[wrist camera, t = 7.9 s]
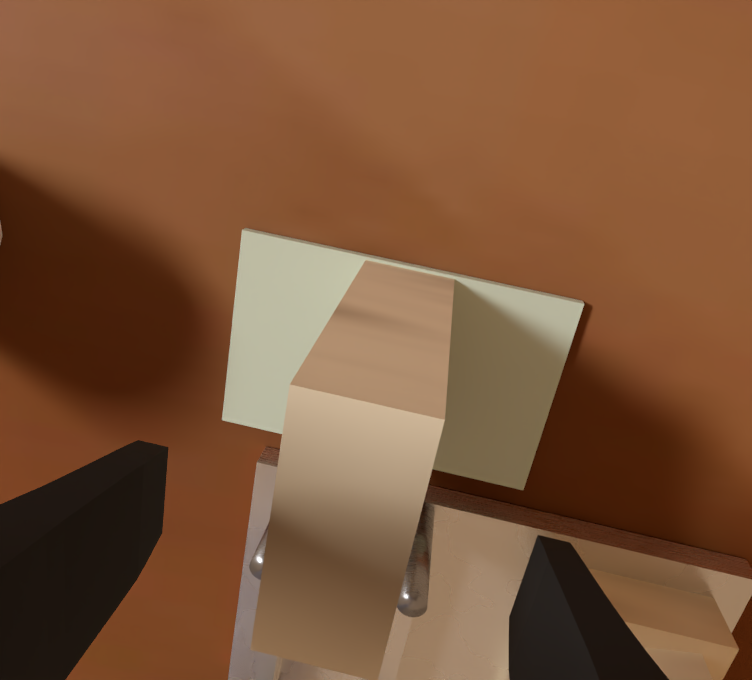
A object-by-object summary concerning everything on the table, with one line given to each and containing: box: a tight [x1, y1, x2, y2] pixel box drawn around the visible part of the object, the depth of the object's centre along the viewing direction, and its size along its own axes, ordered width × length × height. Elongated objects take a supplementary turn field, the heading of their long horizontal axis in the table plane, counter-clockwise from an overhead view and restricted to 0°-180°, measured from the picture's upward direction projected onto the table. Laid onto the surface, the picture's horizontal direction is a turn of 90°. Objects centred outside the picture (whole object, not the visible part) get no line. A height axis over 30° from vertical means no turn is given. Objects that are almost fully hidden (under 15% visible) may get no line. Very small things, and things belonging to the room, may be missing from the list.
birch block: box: [250, 260, 455, 680], centre depth 15 cm, size 6×3×8 cm, turn 169°
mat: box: [222, 228, 584, 490], centre depth 20 cm, size 6×10×1 cm, turn 79°
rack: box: [228, 447, 752, 680], centre depth 21 cm, size 10×16×5 cm, turn 79°
